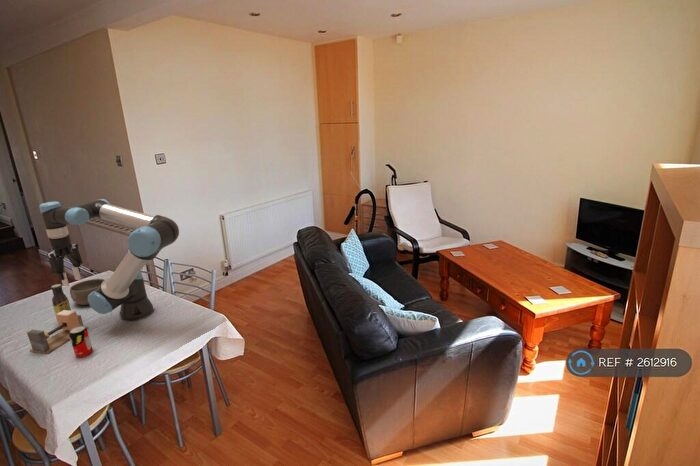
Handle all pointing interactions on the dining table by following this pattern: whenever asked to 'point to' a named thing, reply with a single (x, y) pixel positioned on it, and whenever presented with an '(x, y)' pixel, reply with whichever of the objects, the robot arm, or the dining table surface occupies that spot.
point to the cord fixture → (46, 345)
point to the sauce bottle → (59, 299)
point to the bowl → (84, 290)
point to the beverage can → (80, 341)
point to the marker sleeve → (68, 319)
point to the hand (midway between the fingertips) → (72, 282)
